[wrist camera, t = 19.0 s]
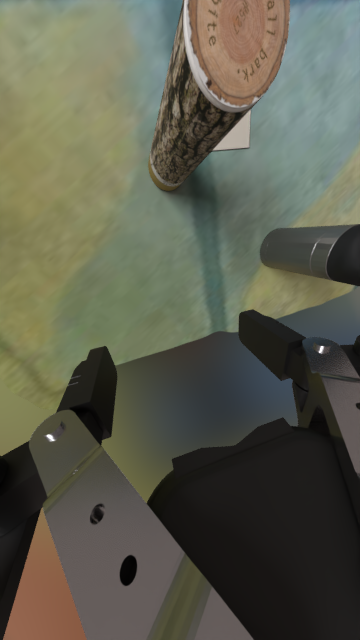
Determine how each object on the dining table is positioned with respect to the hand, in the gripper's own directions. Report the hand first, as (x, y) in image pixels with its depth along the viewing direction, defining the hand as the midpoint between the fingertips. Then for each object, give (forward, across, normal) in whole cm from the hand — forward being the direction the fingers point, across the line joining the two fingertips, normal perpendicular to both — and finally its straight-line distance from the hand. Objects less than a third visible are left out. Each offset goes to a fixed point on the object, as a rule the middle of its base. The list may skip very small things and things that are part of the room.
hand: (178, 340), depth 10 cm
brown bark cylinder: (+32, -8, -16) cm, 37 cm away
